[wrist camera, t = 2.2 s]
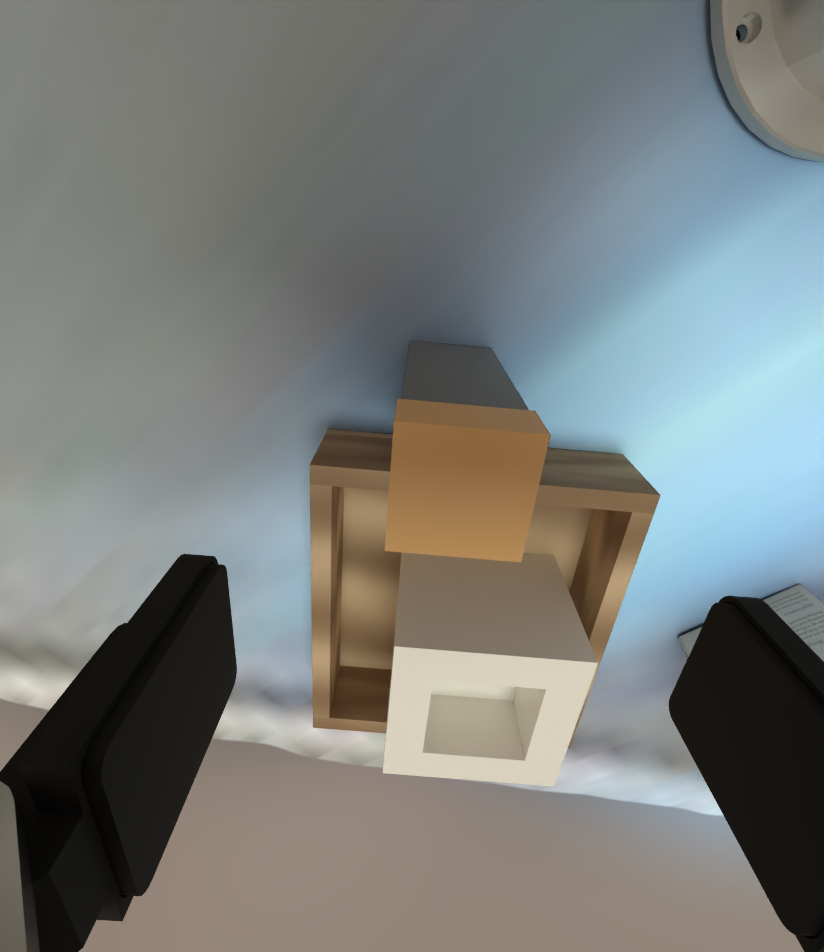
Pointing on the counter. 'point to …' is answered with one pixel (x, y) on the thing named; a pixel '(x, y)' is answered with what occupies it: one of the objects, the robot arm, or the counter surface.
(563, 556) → the crate
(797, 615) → the skincare box
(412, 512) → the square peg
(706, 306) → the counter surface
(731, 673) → the robot arm
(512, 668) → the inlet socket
